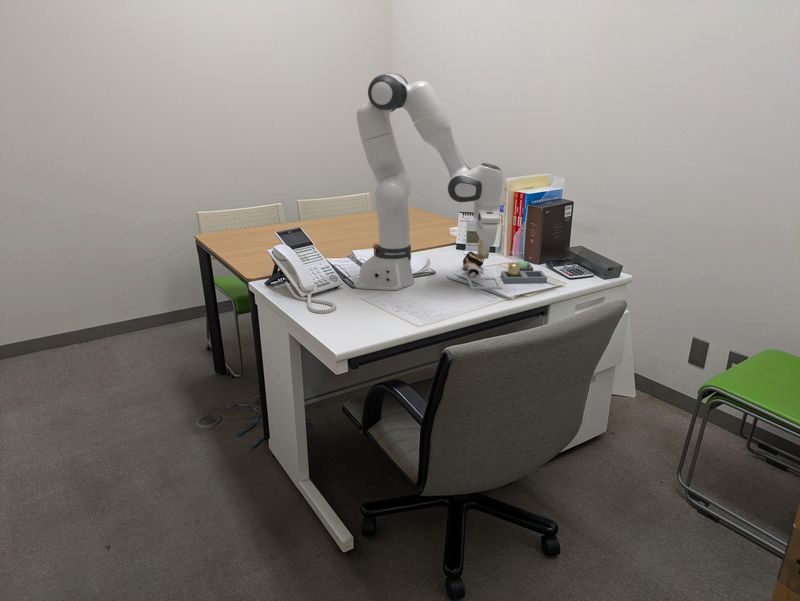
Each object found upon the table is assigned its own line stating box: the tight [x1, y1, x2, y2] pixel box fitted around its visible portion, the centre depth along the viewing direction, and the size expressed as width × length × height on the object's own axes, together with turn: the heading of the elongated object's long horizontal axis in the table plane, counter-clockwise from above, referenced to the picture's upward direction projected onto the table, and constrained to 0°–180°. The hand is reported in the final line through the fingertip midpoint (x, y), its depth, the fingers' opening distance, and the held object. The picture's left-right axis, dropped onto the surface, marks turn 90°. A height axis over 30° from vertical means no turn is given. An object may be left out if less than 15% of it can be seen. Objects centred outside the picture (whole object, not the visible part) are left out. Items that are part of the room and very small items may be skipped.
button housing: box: [519, 262, 534, 271], centre depth 207 cm, size 7×7×4 cm
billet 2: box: [507, 261, 520, 277], centre depth 199 cm, size 4×4×6 cm
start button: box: [516, 260, 529, 268], centre depth 207 cm, size 4×4×4 cm
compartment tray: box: [499, 270, 549, 285], centre depth 200 cm, size 16×9×3 cm, turn 90°
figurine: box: [462, 251, 485, 278], centre depth 208 cm, size 9×8×15 cm
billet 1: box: [476, 239, 491, 260], centre depth 192 cm, size 4×4×6 cm
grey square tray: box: [466, 276, 503, 290], centre depth 197 cm, size 11×11×2 cm
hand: (483, 251), depth 192 cm, fingers closed on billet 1, 4 cm apart
